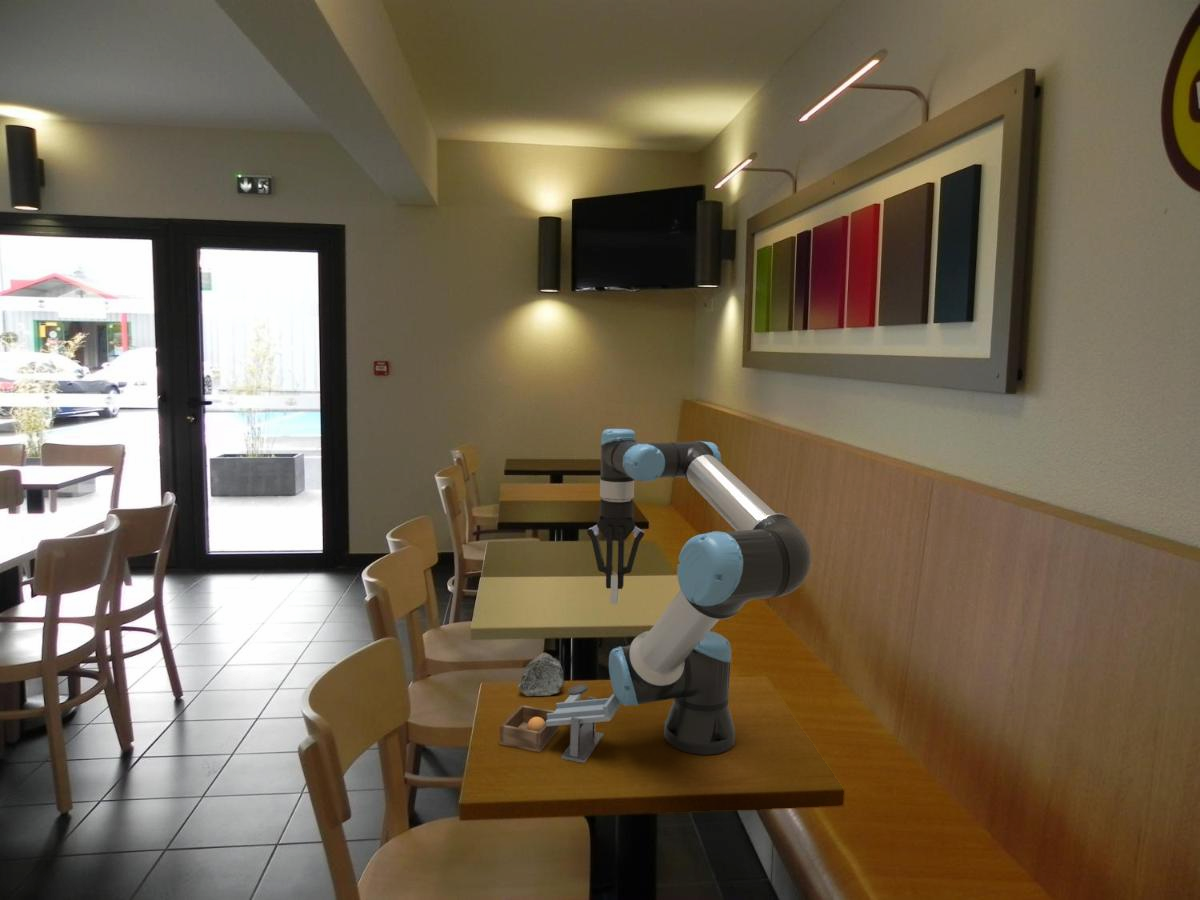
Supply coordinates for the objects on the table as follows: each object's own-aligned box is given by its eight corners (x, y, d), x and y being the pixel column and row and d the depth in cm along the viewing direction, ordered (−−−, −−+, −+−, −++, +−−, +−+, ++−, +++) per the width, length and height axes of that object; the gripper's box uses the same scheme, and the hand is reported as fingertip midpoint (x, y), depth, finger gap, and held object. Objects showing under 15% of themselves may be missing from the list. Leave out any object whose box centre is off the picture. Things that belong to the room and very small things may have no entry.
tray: (558, 729, 171) (559, 711, 170) (539, 752, 161) (540, 733, 160) (520, 721, 173) (521, 704, 173) (499, 744, 163) (500, 726, 163)
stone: (541, 658, 183) (552, 642, 193) (510, 681, 185) (522, 664, 195) (567, 691, 183) (576, 673, 193) (535, 713, 185) (545, 694, 195)
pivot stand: (603, 735, 168) (604, 697, 167) (584, 763, 157) (585, 722, 156) (581, 731, 170) (582, 694, 169) (561, 758, 158) (562, 718, 157)
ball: (551, 719, 167) (535, 710, 168) (544, 728, 163) (528, 718, 164) (544, 734, 168) (529, 725, 169) (537, 743, 164) (521, 733, 165)
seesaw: (634, 685, 173) (631, 672, 173) (609, 722, 156) (605, 707, 156) (573, 691, 178) (570, 679, 178) (542, 727, 161) (539, 713, 160)
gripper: (647, 497, 176) (644, 599, 179) (589, 494, 178) (587, 595, 180) (645, 503, 169) (642, 609, 171) (585, 500, 170) (583, 605, 173)
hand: (614, 602), depth 176 cm, fingers closed
